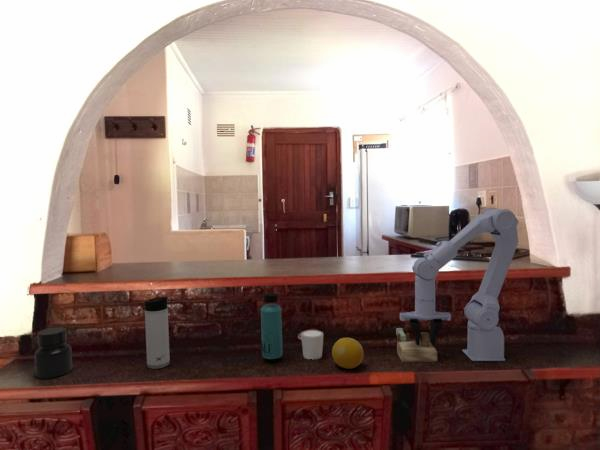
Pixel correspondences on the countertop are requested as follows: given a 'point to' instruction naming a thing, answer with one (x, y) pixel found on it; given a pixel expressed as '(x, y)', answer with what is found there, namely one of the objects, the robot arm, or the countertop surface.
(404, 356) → the toolbox
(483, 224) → the robot arm
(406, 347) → the lid
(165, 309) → the travel mug
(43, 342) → the ink bottle
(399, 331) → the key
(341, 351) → the fruit
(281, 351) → the beverage bottle
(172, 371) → the countertop surface
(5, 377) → the countertop surface
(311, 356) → the white mug
